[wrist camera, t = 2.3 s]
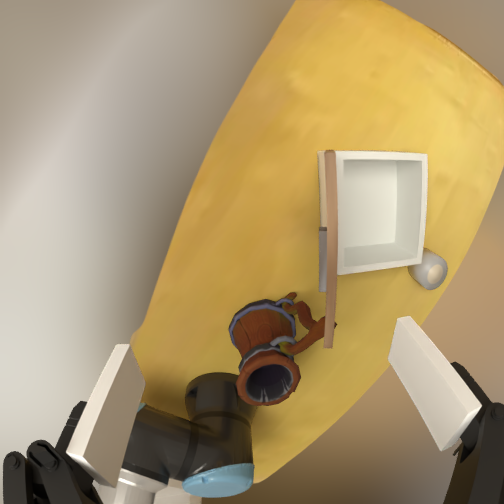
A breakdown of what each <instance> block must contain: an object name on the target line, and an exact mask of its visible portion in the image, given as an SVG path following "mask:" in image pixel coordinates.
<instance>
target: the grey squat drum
mask: <svg viewBox="0 0 504 504" xmlns="http://www.w3.org/2000/svg"><path fill="white" fill-rule="evenodd" d="M447 269H448V268H447V263H446V261H445V260H444V259H443V258H441V257H440V256H438V255H436V254H435V253H433V252H432V251H430V250H429V249H427V248H423V254H422V262H421V264H415V265H408V272H409V274H410V275H411V276H412V277H413V278H414V279H415V280H416V281H418V282H419V283H420V284H421V285H422V286H423V287H425V288H426V289H428V290H433V289H436V288H437V287H439V286H440V285H441V284H442V282H443V281H444V279H445V277H446V275H447Z"/></svg>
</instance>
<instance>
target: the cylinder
mask: <svg viewBox="0 0 504 504" xmlns="http://www.w3.org/2000/svg"><path fill="white" fill-rule="evenodd" d="M201 498H202V497H199V496H194V495H191V494H190V493H187V492H185V491H184V490H183V487H182V482H181V481H178V480H175V479H171V478H169V482H168V486H167V487H166V488H164V489H162V490H160V491H158V492H157V493H156V495H155V499H154V503H153V504H201Z"/></svg>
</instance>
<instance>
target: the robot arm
mask: <svg viewBox="0 0 504 504" xmlns="http://www.w3.org/2000/svg"><path fill="white" fill-rule="evenodd" d="M388 361H389V362H390V364H391V365H392V367H393V368H394V370H395V372H396V374H397V375H398V377H399V378H400V380H401V382H402V384H403V385H404V387H405V389H406V390H407V392H408V394H409V395H410V397H411V399H412V401H413V402H414V404H415V405H416V407H417V409H418V411H419V413H420V414H421V416H422V418H423V420H424V422H425V423H426V425H427V427H428V429H429V431H430V433H431V434H432V436H433V438H434V440H435V442H436V444H437V446H438V448H439V449H440V451H443V450H445V449H447V448H449V447H451V446H453V445H454V444H455V443H456V442H457V441H458V439H459V438H461V440H462V443H461V444H460V446H459V447H458V448H457V449H456V450H455V451H454V454H453V455H454V456H455V455H456V453H457V452H458V451H459V453H458V457H457V461H456V464H455V468H454V472H453V475H452V478H451V482H450V485H449V488H448V491H447V494H446V497H445V500H444V503H443V504H504V405H503V404H501V403H492V402H491V401H490V400H489V398H488V397H487V396H486V394H485V393H484V392H483V390H482V389H481V388H480V387H479V385H478V384H477V383H476V382H475V381H474V379H473V378H472V377H471V376H470V374H469V373H468V372H467V370H466V369H465V368H464V367H463V366H461V365H460V364H458V363H457V362H453V363H449V362H448V361H447V359H446V358H445V357H444V356H443V354H442V353H441V352H440V351H439V349H438V348H437V347H436V346H435V345H434V343H433V342H432V341H431V340H430V339H429V337H428V336H427V335H426V334H425V333H424V332H423V331H422V329H421V328H420V327H419V326H418V325H417V323H416V322H415V321H414V320H413V319H412V318H411V317H410V316H406V317H401V318H397V322H396V327H395V331H394V336H393V340H392V344H391V348H390V352H389V356H388ZM238 377H239V376H237V375H233V374H229V373H209V374H204V375H201V376H199V377H197V378H195V379H194V380H192V381H191V382H190V383H189V385H188V386H187V389H186V394H185V404H186V408H187V412H188V415H189V419H190V421H189V420H186V419H183V418H180V417H177V416H174V415H172V414H169V413H166V412H164V411H161V410H158V409H156V408H154V407H151V406H149V405H147V404H146V403H141V402H140V401H141V398H142V394H143V391H144V388H145V385H146V382H145V380H144V378H143V375H142V373H141V371H140V368H139V366H138V363H137V361H136V358H135V356H134V353H133V351H132V348H131V346H130V344H116V346H115V348H114V350H113V352H112V354H111V356H110V358H109V360H108V362H107V364H106V366H105V368H104V369H103V371H102V373H101V376H100V378H99V380H98V382H97V384H96V386H95V388H94V390H93V392H92V394H91V396H90V398H89V400H88V402H84V401H80V402H79V403H78V404H77V405H76V406H75V407H74V408H73V410H72V412H71V414H70V416H69V419H68V421H67V423H66V426H65V427H64V429H63V431H62V434H61V436H60V438H59V440H58V442H57V445H56V447H55V449H54V447H53V446H52V445H51V444H50V443H48V442H47V441H45V440H37V441H35V442H33V443H31V445H30V446H29V447H28V450H27V458H28V459H26V458H25V457H24V456H23V455H22V454H21V453H19V452H16V451H14V452H10V453H9V454H7V455H6V457H5V459H4V463H3V497H4V498H3V500H4V504H153V503H154V499H155V495H156V493H157V492H158V491H160V490H162V489H164V488H166V487H167V486H168V482H169V478H171V479H175V480H178V481H181V482H182V487H183V490H184V491H185V492H187V493H190V494H191V495H194V496H199V497H226V496H232V495H236V494H239V493H242V492H244V491H246V490H247V489H249V488H250V487H251V485H252V484H253V477H254V464H253V452H252V438H251V423H252V420H253V418H254V415H255V412H256V409H257V406H255V405H251V404H247V403H246V402H245V401H243V400H242V399H241V398H240V396H239V395H238V391H237V385H236V382H237V379H238ZM93 480H95V481H97V482H98V483H99V484H100V488H99V491H98V493H97V491H96V489H95V487H94V486H93V485H92V483H93Z"/></svg>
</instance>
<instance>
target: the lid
mask: <svg viewBox="0 0 504 504" xmlns="http://www.w3.org/2000/svg"><path fill="white" fill-rule="evenodd" d="M324 159H325V178H326V205H327V227H320V228H319V292H326V315H325V334H324V348H332V347H333V336H334V323H335V308H336V289H337V261H338V196H337V168H336V152H335V151H334V150H326V151H325V152H324Z"/></svg>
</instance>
